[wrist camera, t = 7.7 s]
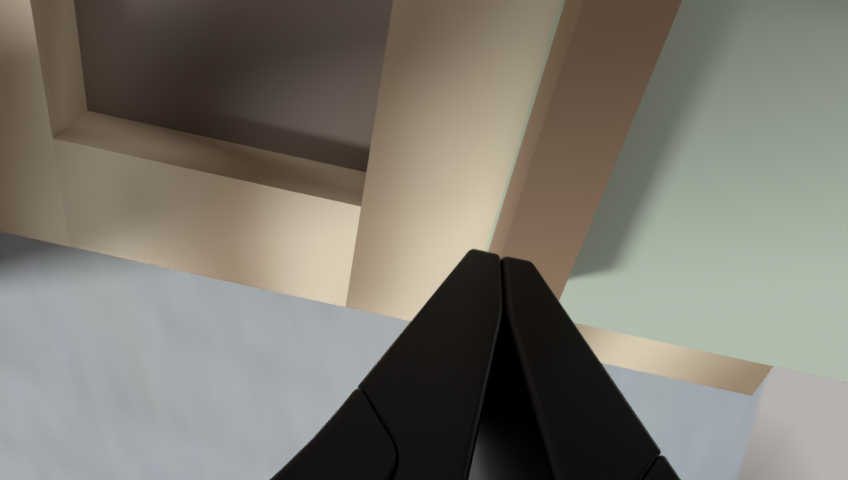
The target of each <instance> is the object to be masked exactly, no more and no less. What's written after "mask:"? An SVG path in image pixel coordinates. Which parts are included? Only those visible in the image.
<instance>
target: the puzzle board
mask: <svg viewBox="0 0 848 480" xmlns="http://www.w3.org/2000/svg"><path fill="white" fill-rule="evenodd" d="M560 2H561V0H0V232H4V233H9V234H13V235H18V236H22V237H27V238H32V239H36V240H41V241H45V242H50V243H55V244H59V245H64V246H68V247H73V248H77V249H82V250H87V251H91V252H96V253H100V254H105V255H110V256H114V257H119V258H123V259H128V260H132V261H137V262H142V263H146V264H151V265H155V266H160V267H165V268H169V269H174V270H178V271H183V272H188V273H192V274H197V275H201V276H206V277H210V278H215V279H220V280H224V281H229V282H233V283H238V284H243V285H247V286H252V287H256V288H261V289H265V290H270V291H275V292H279V293H284V294H288V295H293V296H298V297H302V298H307V299H311V300H316V301H320V302H325V303H330V304H334V305H339V306H343V307H348V308H353V309H357V310H362V311H366V312H371V313H376V314H380V315H385V316H389V317H394V318H398V319H403V320H408V321H412V319H413V318H414V317H415V316H416V315H417V313H418V312H419V311H420V310H421V308H422V307H423V306H424V305H425V304H426V302H427V301H428V300H429V299H430V297H431V296H432V295H433V294H434V292H435V291H436V290H437V289H438V288H439V286H440V285H441V284H442V283H443V281H444V280H445V279H446V278H447V277H448V275H449V274H450V273H451V272H452V270H453V269H454V268H455V267H456V266H457V264H458V263H459V262H460V261H461V259H462V258H463V257H464V256H465V254H466V253H467V252H468V251H469V250H471V249H478V250H482V251H485V249H486V246H487V243H488V239H489V236H490V233H491V230H492V226H493V223H494V220H495V216H496V213H497V210H498V206H499V203H500V200H501V197H502V193H503V190H504V187H505V183H506V180H507V177H508V173H509V170H510V167H511V164H512V160H513V157H514V154H515V150H516V147H517V144H518V140H519V137H520V134H521V131H522V127H523V124H524V121H525V117H526V114H527V111H528V107H529V104H530V101H531V98H532V94H533V91H534V88H535V84H536V81H537V78H538V74H539V71H540V68H541V65H542V61H543V58H544V55H545V51H546V48H547V45H548V41H549V38H550V35H551V32H552V28H553V25H554V22H555V18H556V15H557V12H558V8H559V5H560ZM574 324H575V325H576V327H577V328H578V330H579V331H580V333H581V334H582V336H583V337H584V339H585V340H586V342H587V343H588V344H589V346H590V347H591V349H592V350H593V352H594V353H595V355H596V356H597V358H598V359H599V361H600V362H601V363H605V364H609V365H614V366H619V367H623V368H628V369H632V370H637V371H641V372H646V373H651V374H655V375H660V376H664V377H669V378H674V379H678V380H683V381H687V382H692V383H697V384H701V385H706V386H710V387H715V388H719V389H724V390H729V391H733V392H738V393H742V394H747V395H753V394H754V392H755V391H756V389H757V388H758V387H759V385H760V384H761V382H762V381H763V380H764V378H765V377H766V376H767V374H768V373H769V371H770V370H771V369H772V367H773V366H770V365H765V364H760V363H756V362H751V361H747V360H742V359H738V358H733V357H728V356H724V355H719V354H715V353H710V352H706V351H701V350H696V349H692V348H687V347H683V346H678V345H674V344H669V343H665V342H660V341H655V340H651V339H646V338H642V337H637V336H633V335H628V334H623V333H619V332H614V331H610V330H605V329H601V328H596V327H591V326H587V325H582V324H578V323H574Z"/></svg>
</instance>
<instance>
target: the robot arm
mask: <svg viewBox="0 0 848 480" xmlns="http://www.w3.org/2000/svg"><path fill="white" fill-rule="evenodd" d="M660 453H661V451H660V449H659V447H658V446H657V444H656V443H655V441H654V440H653V439H652V437H651V436H650V434H649V433H648V431H647V430H646V428H645V427H644V425H643V424H642V422H641V421H640V419H639V418H638V416H637V415H636V414H635V412H634V411H633V409H632V408H631V406H630V405H629V403H628V402H627V400H626V399H625V397H624V396H623V394H622V393H621V391H620V390H619V389H618V387H617V386H616V384H615V383H614V381H613V380H612V378H611V377H610V375H609V374H608V372H607V371H606V369H605V368H604V367H603V365H602V364H601V362H600V361H599V359H598V358H597V356H596V355H595V353H594V352H593V350H592V349H591V347H590V346H589V344H588V343H587V342H586V340H585V339H584V337H583V336H582V334H581V333H580V331H579V330H578V328H577V327H576V325H575V324H574V322H573V321H572V319H571V318H570V317H569V315H568V314H567V312H566V311H565V309H564V308H563V306H562V305H561V303H560V302H559V300H558V299H557V297H556V296H555V294H554V293H553V292H552V290H551V289H550V287H549V286H548V284H547V283H546V281H545V280H544V278H543V277H542V275H541V274H540V272H539V271H538V269H537V268H536V267H535V265H534V264H533V263H532V262H530V261H527V260H523V259H518V258H514V257H509V256H504V257H502V258H501V259H500V256H499V255H498V254H495V253H491V252H487V251H482V250H478V249H471V250H469V251H468V252H467V253H466V254H465V256H464V257H463V258H462V259H461V261H460V262H459V263H458V264H457V266H456V267H455V268H454V269H453V270H452V272H451V273H450V274H449V275H448V277H447V278H446V279H445V280H444V281H443V283H442V284H441V285H440V286H439V288H438V289H437V290H436V291H435V292H434V294H433V295H432V296H431V297H430V299H429V300H428V301H427V302H426V304H425V305H424V306H423V307H422V308H421V310H420V311H419V312H418V313H417V315H416V316H415V317H414V318H413V319H412V321H411V322H410V323H409V324H408V326H407V327H406V328H405V329H404V330H403V332H402V333H401V334H400V335H399V337H398V338H397V339H396V340H395V342H394V343H393V344H392V345H391V346H390V348H389V349H388V350H387V351H386V353H385V354H384V355H383V356H382V357H381V359H380V360H379V361H378V362H377V364H376V365H375V366H374V367H373V368H372V370H371V371H370V372H369V373H368V375H367V376H366V377H365V378H364V379H363V381H362V382H361V383H360V384H359V386H358V389H356V390H354V391H353V392H352V394H351V395H350V396H349V397H348V399H347V400H346V401H345V402H344V403H343V405H342V406H341V407H340V408H339V410H338V411H337V412H336V413H335V414H334V415H333V416H332V417H331V419H330V420H329V421H328V422H327V423H326V424H325V425H324V426H323V428H322V429H321V430H320V431H319V432H318V433H317V434H316V435H315V437H314V438H313V439H312V440H311V441H310V442H309V443H308V444H307V445H306V446H305V447H304V448H303V449H301V450H300V451H299V452H298V453H297V454H296V455H295V456H294V457H293V458H292V459H291V460H290V461H289V462H288V463H287V464H286V465H285V466H284V467H283V468H282V469H281V470H280V471H279V472H278V473H277V474H275V475H274V476H273V477H272V478H271V479H270V480H681V479H680V478H679V476H678V475H677V473H676V472H675V470H674V469H673V467H672V466H671V465H670V463H669V462H668V460H667V459H666V457H665V456H662V455H661V456H659V455H660Z"/></svg>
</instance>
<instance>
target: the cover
mask: <svg viewBox="0 0 848 480" xmlns="http://www.w3.org/2000/svg"><path fill="white" fill-rule="evenodd" d="M485 251H487V252H491V253H495V254H498V255H499V256H500V259H501V258H502V257H504V256H509V257H514V258H518V259H523V260H527V261H530V262H532V263H533V264H534V265H535V267H536V268H537V269H538V271H539V272H540V274H541V275H542V277H543V278H544V280H545V281H546V283H547V284H548V286H549V287H550V289H551V290H552V292H553V293H554V294H555V296H556V297H557V299H558V300H559V302H560V303H561V305H562V306H563V308H564V309H565V311H566V312H567V314H568V315H569V317H570V318H571V319H572V321H573V322H574V323H578V324H582V325H587V326H591V327H596V328H601V329H605V330H610V331H614V332H619V333H623V334H628V335H633V336H637V337H642V338H646V339H651V340H655V341H660V342H665V343H669V344H674V345H678V346H683V347H687V348H692V349H696V350H701V351H706V352H710V353H715V354H719V355H724V356H728V357H733V358H738V359H742V360H747V361H751V362H756V363H760V364H765V365H770V366H774V367H779V368H784V369H788V370H793V371H797V372H802V373H806V374H811V375H815V376H820V377H824V378H829V379H834V380H838V381H843V382H848V0H561V2H560V5H559V8H558V12H557V15H556V18H555V22H554V25H553V28H552V32H551V35H550V38H549V41H548V45H547V48H546V51H545V55H544V58H543V61H542V65H541V68H540V71H539V74H538V78H537V81H536V84H535V88H534V91H533V94H532V98H531V101H530V104H529V107H528V111H527V114H526V117H525V121H524V124H523V127H522V131H521V134H520V137H519V140H518V144H517V147H516V150H515V154H514V157H513V160H512V164H511V167H510V170H509V173H508V177H507V180H506V183H505V187H504V190H503V193H502V197H501V200H500V203H499V206H498V210H497V213H496V216H495V220H494V223H493V226H492V230H491V233H490V236H489V239H488V243H487V246H486V249H485Z"/></svg>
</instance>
